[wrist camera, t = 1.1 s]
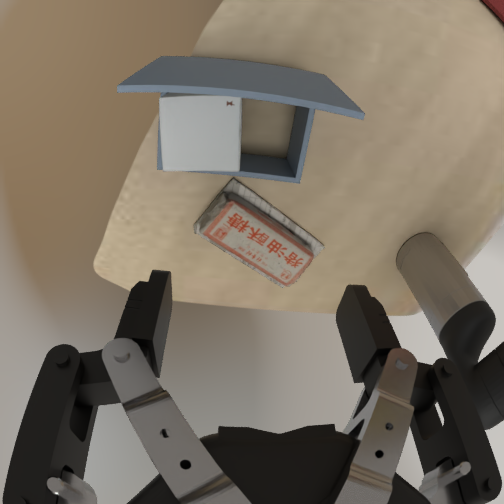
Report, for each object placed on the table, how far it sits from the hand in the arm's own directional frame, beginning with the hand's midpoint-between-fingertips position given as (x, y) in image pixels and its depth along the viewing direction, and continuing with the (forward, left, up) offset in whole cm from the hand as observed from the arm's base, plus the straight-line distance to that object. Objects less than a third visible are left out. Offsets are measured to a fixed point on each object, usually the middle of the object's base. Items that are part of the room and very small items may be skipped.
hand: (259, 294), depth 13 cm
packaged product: (-4, +15, -31) cm, 34 cm away
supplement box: (+4, -2, -30) cm, 30 cm away
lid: (+1, -7, -17) cm, 18 cm away
